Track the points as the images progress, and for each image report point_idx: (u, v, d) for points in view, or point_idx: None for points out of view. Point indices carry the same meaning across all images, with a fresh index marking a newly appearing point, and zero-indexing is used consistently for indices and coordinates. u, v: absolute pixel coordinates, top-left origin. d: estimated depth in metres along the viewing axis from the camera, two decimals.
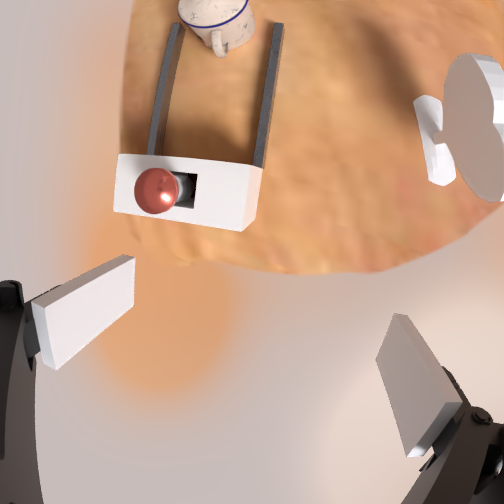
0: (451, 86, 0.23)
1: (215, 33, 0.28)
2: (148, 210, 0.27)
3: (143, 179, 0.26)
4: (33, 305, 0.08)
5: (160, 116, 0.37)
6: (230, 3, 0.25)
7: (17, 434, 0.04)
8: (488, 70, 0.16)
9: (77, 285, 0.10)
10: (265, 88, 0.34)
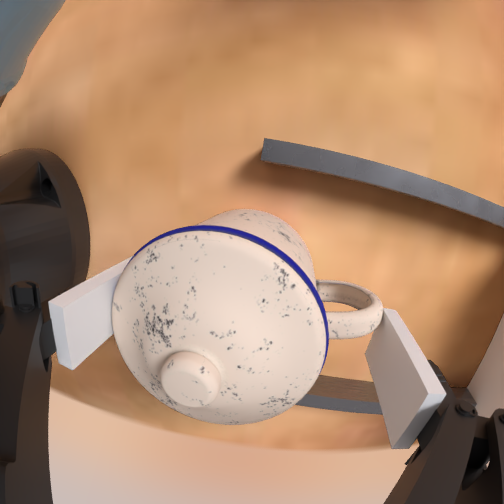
0: None
1: (335, 329, 0.12)
2: None
3: None
4: (50, 305, 0.08)
5: None
6: (249, 294, 0.10)
7: (30, 437, 0.04)
8: None
9: (94, 285, 0.10)
10: (445, 202, 0.14)
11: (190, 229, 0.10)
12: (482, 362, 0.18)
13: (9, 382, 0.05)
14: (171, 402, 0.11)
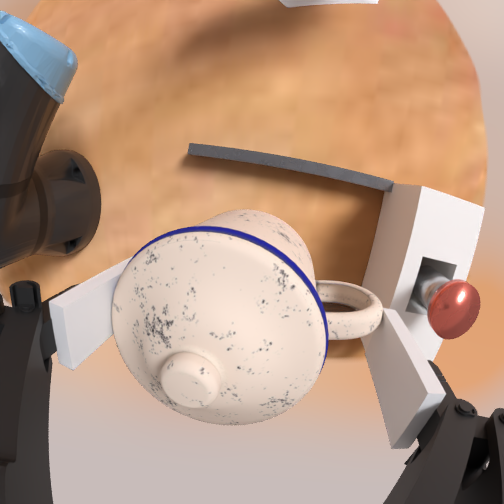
0: None
1: (335, 330, 0.12)
2: (473, 319, 0.17)
3: (441, 326, 0.17)
4: (51, 305, 0.08)
5: None
6: (249, 295, 0.10)
7: (30, 437, 0.04)
8: None
9: (94, 285, 0.10)
10: (290, 167, 0.28)
11: (190, 230, 0.10)
12: (362, 285, 0.33)
13: (10, 382, 0.05)
14: (171, 403, 0.11)
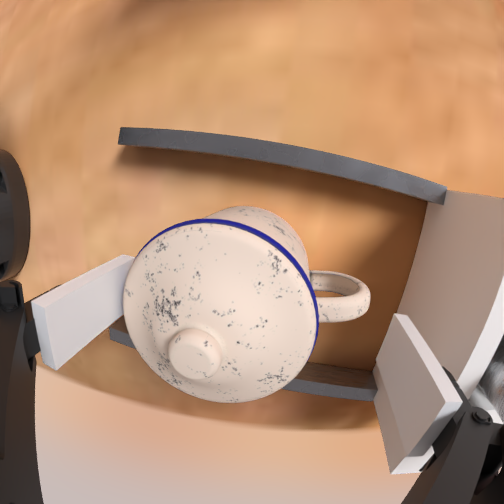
0: None
1: (325, 313, 0.13)
2: None
3: None
4: (33, 305, 0.08)
5: (303, 377, 0.20)
6: (247, 278, 0.11)
7: (17, 434, 0.04)
8: None
9: (77, 285, 0.10)
10: (278, 160, 0.16)
11: (195, 222, 0.12)
12: None
13: None
14: (176, 381, 0.13)
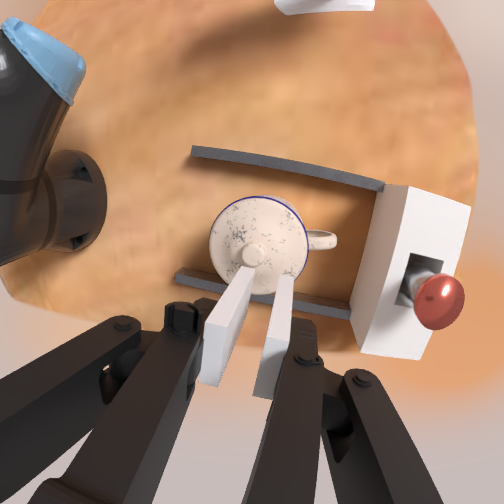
0: None
1: (312, 244, 0.27)
2: (458, 312, 0.19)
3: (426, 317, 0.19)
4: (207, 325, 0.10)
5: (303, 300, 0.34)
6: (275, 221, 0.25)
7: (147, 474, 0.04)
8: None
9: (234, 300, 0.11)
10: (287, 169, 0.30)
11: (251, 197, 0.26)
12: (355, 281, 0.34)
13: (142, 415, 0.05)
14: None
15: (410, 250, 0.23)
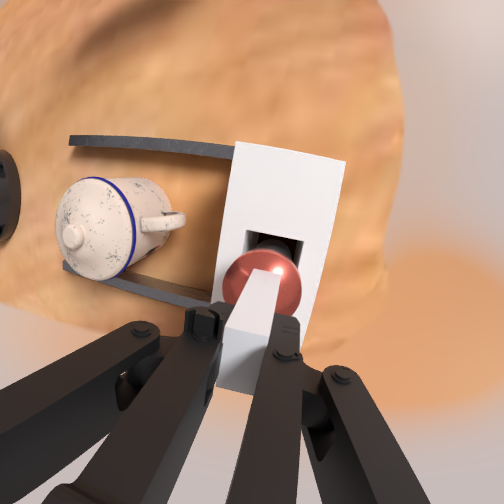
0: None
1: (146, 225, 0.23)
2: (293, 304, 0.16)
3: None
4: (227, 330, 0.09)
5: (173, 291, 0.30)
6: (98, 201, 0.21)
7: (162, 481, 0.04)
8: None
9: (251, 304, 0.11)
10: (144, 147, 0.26)
11: (84, 179, 0.22)
12: None
13: (160, 422, 0.05)
14: (75, 265, 0.23)
15: (245, 226, 0.19)
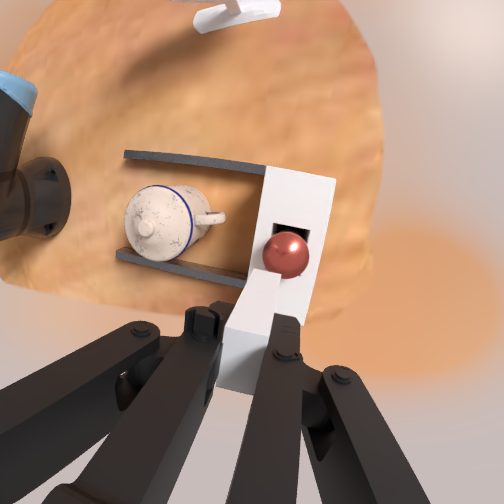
0: None
1: (199, 220, 0.34)
2: (304, 264, 0.28)
3: (272, 266, 0.28)
4: (227, 330, 0.09)
5: (211, 272, 0.41)
6: (164, 203, 0.32)
7: (162, 481, 0.04)
8: None
9: (251, 304, 0.11)
10: (191, 163, 0.37)
11: (150, 186, 0.32)
12: None
13: (159, 421, 0.05)
14: (141, 250, 0.33)
15: (272, 220, 0.30)
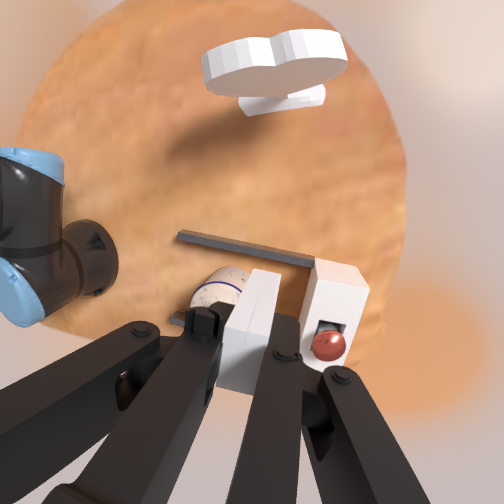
0: (236, 92, 0.32)
1: None
2: (342, 352, 0.35)
3: (319, 354, 0.36)
4: (227, 330, 0.09)
5: None
6: (230, 299, 0.39)
7: (161, 481, 0.04)
8: (220, 66, 0.25)
9: (251, 304, 0.11)
10: (243, 252, 0.45)
11: (215, 282, 0.40)
12: None
13: (159, 421, 0.05)
14: None
15: (319, 318, 0.38)
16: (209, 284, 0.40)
